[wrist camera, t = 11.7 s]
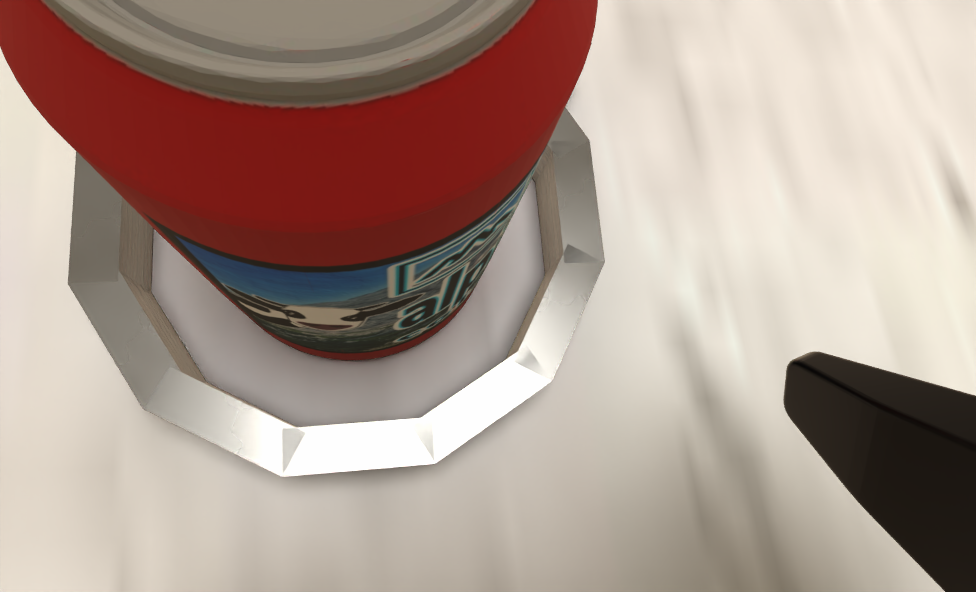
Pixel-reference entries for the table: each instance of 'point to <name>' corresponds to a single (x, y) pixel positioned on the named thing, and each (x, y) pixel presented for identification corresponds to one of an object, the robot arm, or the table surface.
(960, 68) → the table surface
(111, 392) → the table surface
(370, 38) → the beverage can
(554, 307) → the ring collar
